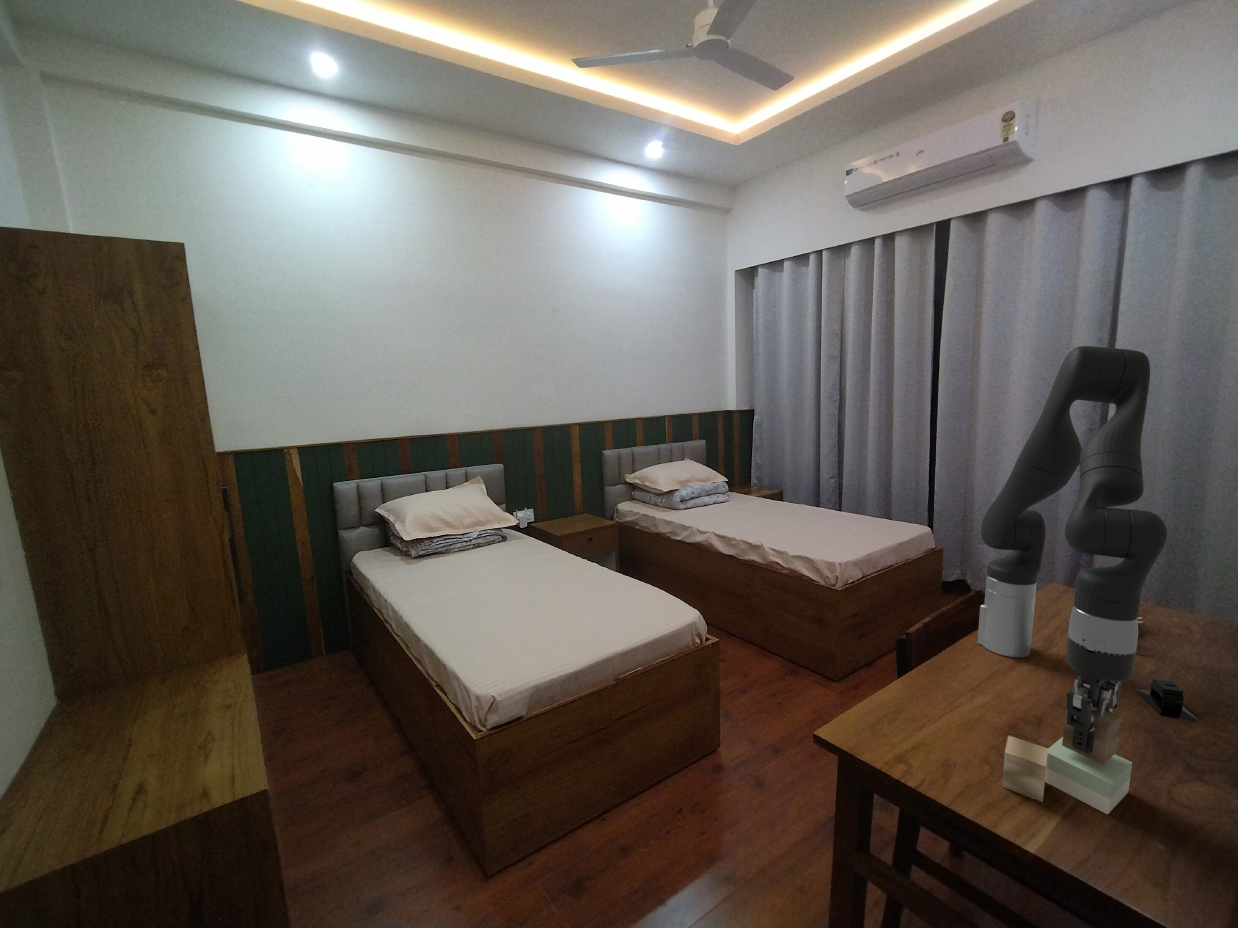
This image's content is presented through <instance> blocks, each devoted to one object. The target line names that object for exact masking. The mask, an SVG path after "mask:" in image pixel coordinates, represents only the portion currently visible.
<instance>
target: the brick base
mask: <svg viewBox="0 0 1238 928" xmlns="http://www.w3.org/2000/svg"><path fill="white" fill-rule="evenodd" d="M1062 741H1063V736H1061V737H1060V738H1059V739H1058V740H1056V742H1055V743H1053V744H1051V746H1049V748H1048V755H1047V765H1046V775H1045V783H1047V784H1048V785H1051V786H1052V787H1055V788H1057V789H1058V790H1059V791H1062V792H1063V793H1066V794H1067V795H1069V796H1071V797H1074V798H1076V799H1077V800H1079V801H1081V802H1083V803H1085V804H1087V805H1089V806H1090V807H1092V808H1094V809H1096V810H1098V811H1099V812H1102V813H1104V814H1106V815H1109V814H1110V813H1111V812H1112V811H1113V810H1114V808H1115V807H1116V806H1117V805H1118V804H1119V803H1120V802H1121V801H1122V799H1124V798H1125V796H1126V795H1127V794H1129V790H1130V782H1131V777H1132V776H1131V775H1132V768H1133V761H1130V760H1128V759H1126V758H1123V757H1121V756H1119V755H1117V754H1116V753H1115V754H1114V755H1113V756H1112V757H1111V758H1110V759H1109V760H1108V761H1107V762H1106V763H1105V764H1104V765H1103V764H1101V763H1099V762H1096V761H1094V760H1092V759H1090V758H1088V757H1086V756H1084V755H1081V754H1079V753H1077V752H1075V751H1073V750H1071V749H1068V748H1066V747H1064V746H1062Z"/></svg>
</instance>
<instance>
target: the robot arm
mask: <svg viewBox="0 0 1238 928" xmlns="http://www.w3.org/2000/svg"><path fill="white" fill-rule="evenodd" d="M1150 364H1151V363H1150V360H1149V357H1148V356H1147V355H1146V354H1145V353H1144V352H1142V351H1139V350H1134V349H1129V348H1128V349H1127V348H1116V347H1115V348H1114V347H1103V346H1089V345H1080V346H1077V347H1074V348H1073V349H1072V350H1070V351H1069V352H1068V354H1067V355H1066V356H1065V358H1064V360H1063V362H1062V363H1061V365H1060V367H1059V370H1058V372H1057V374H1056V377H1055V379H1054V381H1053V384H1052V387H1051V390H1050V391H1049V394H1048V397H1047V399H1046V401H1045V405H1044V407H1043V409H1042V411H1041V414H1040V416H1039V418H1038V419H1037V421H1036V423H1035V426H1034V428H1033V430H1032V432H1030V434H1029V437H1028V439H1027V441H1026V442H1025V444H1024V446H1023V447H1022V449H1021V451H1020V454H1019V455H1018V457H1017V459H1016V461H1015V464H1014V466H1013V468H1012V470H1011V471H1010V472H1011V473H1010V474H1009V476H1008V478H1007V480H1006V482H1005V483H1004V486H1003V487H1002V488H1001V490H1000V492H999V493H998V495H997V497H996V498H995V499H994V501H993V502H992V503H991V505H990V506H989V508H988V509H987V510H986V513H985V515H984V516H983V519H982V522H981V526H980V536H981V539H982V541H983V543H984V544H985V545H986V546H987V547H989V548H991V549H995V550H1000V551H1001V550H1005V551H1011V552H1010V553H1009V554H1007V555H1005V556H1002V557H1000V558H996V559H994V560H991V561H990V562H989V563H988V564H987V567H986V579H985V580H986V583H985V594H984V603H983V604H981V605H980V607H979V619H978V630H977V631H978V633H977V634H978V635H977V644H979V645H982V647H984V648H985V649H987V650H988V651H990V652H993V653H995V654H998V655H1001V656H1005V657H1010V658H1024V657H1025V658H1026V657H1029V656H1030V654H1031V647H1032V637H1033V629H1034V628H1033V627H1034V616H1035V614H1034V613H1035V606H1036V604H1035V603H1036V593H1037V582H1038V576H1039V574H1040V571H1041V567H1042V559H1043V554H1044V548H1045V544H1046V543H1045V542H1046V533H1047V532H1046V531H1047V530H1046V523H1045V519H1044V517H1043V516H1042V514H1041V513H1040V512H1039V511H1036V510H1034V509H1029V508H1031V507H1032V506H1035V505H1037V503H1040V502H1042V501H1044V500H1045V499H1047V498H1049V497H1050V496H1052V495H1054V494H1056V493H1058V492H1059V491H1060V490H1063V488H1064V487H1065V486H1066V485H1067V484H1068V483H1069V482H1070V480H1071V478H1072V477H1073V475H1074V474H1075V472H1076V470H1077V469H1078V467H1079V489H1078V490H1079V491H1078V496H1077V499H1076V501H1075V504H1074V506H1073V507H1072V509H1071V511H1070V514H1069V516H1068V518H1067V521H1066V524H1065V528H1064V537H1065V540H1066V541H1067V543H1068V545H1069V546H1070V547H1071V548H1072V549H1074V551H1075V552H1076V551H1077V552H1078V553H1082V554H1084V555H1085V554H1086V555H1092V556H1093V555H1094V556H1095V555H1096V556H1101V557H1102V556H1103V557H1109V558H1110V557H1111V558H1119V559H1123V560H1122V561H1121V562H1119V563H1118V564H1116V565H1112V566H1104V567H1103V566H1102V567H1101V566H1100V567H1088V568H1087V567H1086V568H1083V569H1081V570H1079V571H1078V573H1076V574H1077V575H1076V577H1075V584H1074V594H1073V595H1074V596H1073V597H1074V598H1073V605H1072V609H1071V612H1070V616H1069V621H1068V631H1067V638H1066V639H1067V640H1066V651H1065V661H1066V663H1067V665H1069V666H1070V667H1071V668H1073V669H1074V670H1075V671H1076V672H1078V673H1079V676H1078V677H1076V678H1075V679H1074V683H1073V689H1074V691H1071V690H1068V691H1067V692H1066V710H1067V724H1068V725H1070V726H1073V727H1074V732H1073V741H1072V745H1073V747H1074V748H1076V749H1078V750H1080V751H1082V752H1085V753H1087V754H1090V753H1091V752H1092V748H1093V740H1094V731H1095V730H1096V723H1097V720H1098V718H1101V717H1103V715H1104V710H1106V711H1108V712H1112V713H1114V711H1116V710H1117V709H1118V707H1119V705H1118V704H1119V699H1120V695H1121V689H1122V685H1123V682H1125V681H1129V680H1130V679H1132V678H1133V675H1134V671H1135V670H1134V669H1135V665H1136V662H1135V661H1136V657H1137V656H1136V655H1137V648H1138V639H1139V638H1138V637H1139V623H1138V621H1139V619H1138V617H1139V609H1140V605H1141V603H1140V602H1141V595H1142V592H1143V591H1142V590H1143V588H1144V584H1145V581H1146V580H1147V578H1148V576H1149V573H1150V571H1151V570H1152V568H1153V566H1154V564H1155V562H1156V561H1157V560H1158V558H1159V556H1160V555H1161V553H1162V551H1163V549H1164V547H1165V545H1166V542H1167V539H1168V528H1167V526H1166V524H1165V522H1164V521H1163V519H1162V518H1161V516H1159V515H1158V514H1156V513H1155V512H1151V511H1150V510H1149V511H1148V510H1143V509H1142V510H1141V509H1130V508H1129V509H1127V508H1119V507H1121V506H1127V505H1130V504H1134V503H1136V502H1137V501H1138V500H1140V499H1141V498H1142V496H1143V493H1144V477H1143V476H1144V475H1143V463H1142V455H1141V454H1142V453H1141V452H1142V449H1141V447H1142V436H1143V435H1142V434H1143V429H1144V423H1145V415H1146V411H1147V406H1148V405H1147V404H1148V395H1149V388H1150V382H1151V381H1150V379H1151V365H1150ZM1076 401H1085V402H1086V401H1088V402H1094V403H1100V404H1101V403H1103V404H1108V405H1109V404H1113V405H1115V412H1114V414H1113V415H1112V417H1110V419H1109V420H1108V421H1107V422H1105V424H1103V425H1102V426H1101V427H1100V428H1099V429H1097V430H1096V431H1094V433H1093V434H1092V435H1091V436H1090V437H1089V438H1088V439H1087V440H1086V442H1085V443H1084V445H1083V447H1082V444H1081V442H1080V439H1079V437H1078V435H1077V432H1076V429H1075V428H1074V425H1073V421H1072V417H1071V412H1070V411H1071V407H1072V405H1073V404H1074V402H1076ZM1116 507H1118V508H1116ZM1091 706H1093V707H1096V708H1097V710H1096V711H1095V710H1093V709H1091ZM1113 710H1114V711H1113ZM1080 718H1081V719H1080ZM1082 719H1083V720H1082Z"/></svg>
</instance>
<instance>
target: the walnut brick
mask: <svg viewBox="0 0 1238 928" xmlns="http://www.w3.org/2000/svg"><path fill="white" fill-rule="evenodd" d="M1091 709H1093V710H1095V711H1096V710H1097V708H1096V707H1093V706H1091ZM1064 714H1065V715H1064V723H1063V732H1062V733H1063V734H1062V737H1063V741H1062V746H1064V747H1066V748H1068V749H1071V750H1073V751H1075V752H1077V753H1079V754H1081V755H1084V756H1086V757H1088V758H1090V759H1092V760H1094V761H1096V762H1099V763H1101V764H1103V765H1104V764H1105V763H1106V762H1107V761H1108V760H1109V759H1110V758H1111V757H1112V756H1113V755H1114V754H1115V755H1116V754H1117V753H1118V748H1119V747H1118V746H1119V738H1120V737H1119V736H1120V729H1121V721H1122V716H1121V715H1120V714H1117V713H1114V712H1113V713H1112V712H1108V711H1106V710H1104V715H1103V717H1101V718H1098V720H1097V723H1096V730H1095V731H1094V740H1093V748H1092V752H1091V753H1090V754H1087V753H1085V752H1082V751H1080V750H1078V749H1076V748H1074V747H1073V745H1072V741H1073V732H1074V727H1073V726H1070V725H1068V724H1067V709H1066V710H1065V713H1064ZM1080 719H1081V718H1080ZM1082 720H1083V719H1082Z"/></svg>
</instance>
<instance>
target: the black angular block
mask: <svg viewBox="0 0 1238 928" xmlns="http://www.w3.org/2000/svg"><path fill="white" fill-rule="evenodd" d="M1150 683H1151V684H1150V689H1149V690H1147V689H1140V688H1134V690H1135V691H1136V692H1137V693H1138V694H1139V695H1140V696H1141V697H1142V698H1143V699H1144V700H1145V702H1147V704H1148V705H1149V706H1151V707H1152V709H1153V710H1154V711H1155V712H1156V713H1157V714H1158V715H1159V716H1161V717H1164V718H1171V719H1177V720H1185V721H1191V722H1196V723H1201V721H1200V720H1199V719H1198V718H1197V717H1196V716H1195V715H1194V714H1193V713H1191V712H1190V711H1189V709H1187V708H1186V707H1185V706H1184V699H1185V697H1184V690H1182V689H1181V688H1180V687H1179V686H1177V684H1176V683H1175V682H1173V680H1166V679H1165V680H1164V679H1157V678H1152V682H1150ZM1198 720H1199V721H1198Z"/></svg>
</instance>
